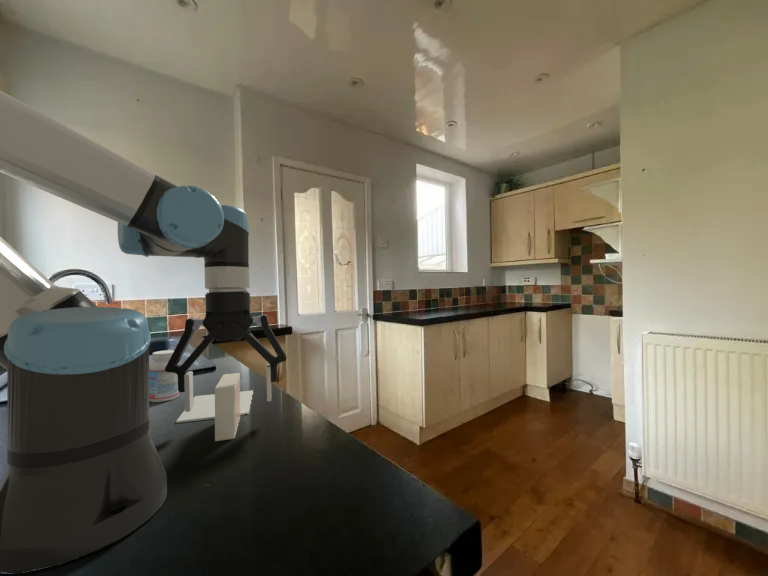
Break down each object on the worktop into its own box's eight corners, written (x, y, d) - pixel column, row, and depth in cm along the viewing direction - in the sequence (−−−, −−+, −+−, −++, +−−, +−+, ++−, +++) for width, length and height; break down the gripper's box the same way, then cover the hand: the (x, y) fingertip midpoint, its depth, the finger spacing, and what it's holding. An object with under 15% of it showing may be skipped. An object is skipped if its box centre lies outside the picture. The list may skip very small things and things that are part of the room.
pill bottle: (148, 398, 78) (148, 351, 78) (178, 393, 82) (177, 348, 82) (148, 405, 73) (148, 355, 73) (180, 399, 77) (180, 352, 77)
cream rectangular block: (234, 438, 56) (234, 386, 56) (215, 441, 55) (214, 388, 55) (240, 417, 65) (240, 372, 65) (223, 419, 64) (223, 374, 64)
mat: (248, 414, 67) (248, 412, 67) (176, 423, 63) (176, 421, 63) (253, 391, 82) (253, 390, 82) (195, 397, 78) (195, 396, 78)
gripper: (295, 289, 68) (298, 389, 68) (156, 292, 60) (159, 406, 60) (298, 289, 61) (300, 401, 61) (140, 292, 53) (144, 422, 53)
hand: (230, 404), depth 60 cm, fingers open, 13 cm apart
